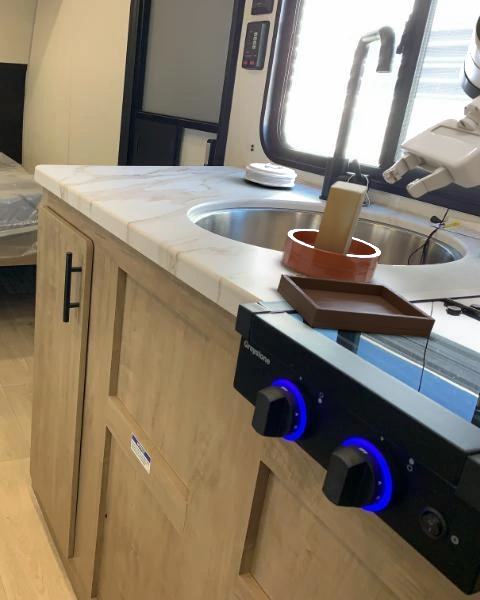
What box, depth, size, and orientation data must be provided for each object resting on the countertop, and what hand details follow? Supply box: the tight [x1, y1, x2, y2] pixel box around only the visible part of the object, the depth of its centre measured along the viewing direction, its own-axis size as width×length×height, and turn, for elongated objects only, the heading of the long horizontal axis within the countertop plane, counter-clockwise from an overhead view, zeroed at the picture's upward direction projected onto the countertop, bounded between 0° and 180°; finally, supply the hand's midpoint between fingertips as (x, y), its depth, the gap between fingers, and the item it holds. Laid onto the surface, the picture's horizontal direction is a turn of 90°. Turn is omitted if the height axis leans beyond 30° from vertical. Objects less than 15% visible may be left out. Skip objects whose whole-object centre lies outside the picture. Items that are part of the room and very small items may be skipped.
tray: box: [277, 273, 436, 339], centre depth 73 cm, size 14×11×2 cm
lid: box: [243, 162, 298, 188], centre depth 152 cm, size 13×13×5 cm
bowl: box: [281, 228, 382, 283], centre depth 88 cm, size 13×13×4 cm
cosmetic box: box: [314, 180, 369, 255], centre depth 86 cm, size 6×4×12 cm
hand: (397, 185), depth 84 cm, fingers open, 8 cm apart
